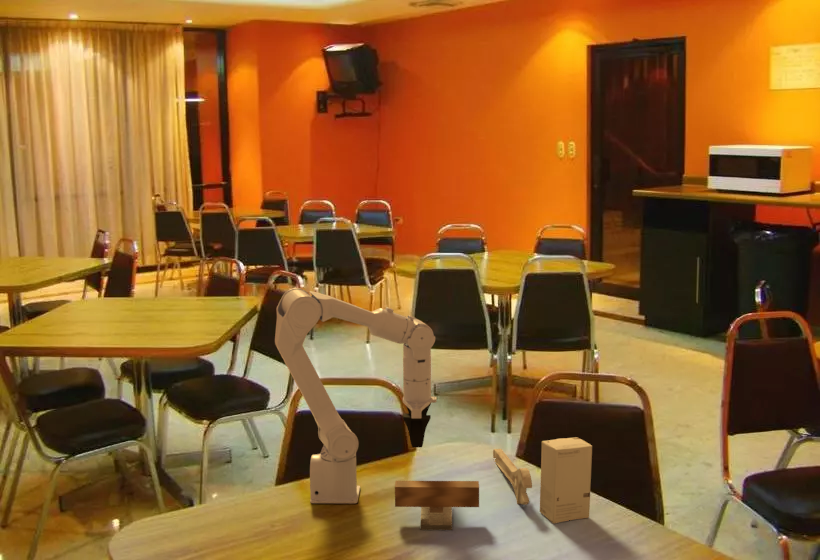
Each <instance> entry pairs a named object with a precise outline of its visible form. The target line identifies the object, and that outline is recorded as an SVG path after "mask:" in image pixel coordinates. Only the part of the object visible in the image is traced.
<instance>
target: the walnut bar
mask: <svg viewBox="0 0 820 560" xmlns="http://www.w3.org/2000/svg"><path fill="white" fill-rule="evenodd" d="M479 483H480V481H479V480H395V484H394V507H396V508H399V507H400V508H405V507H406V508H421V507H452V508H480V484H479Z"/></svg>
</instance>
